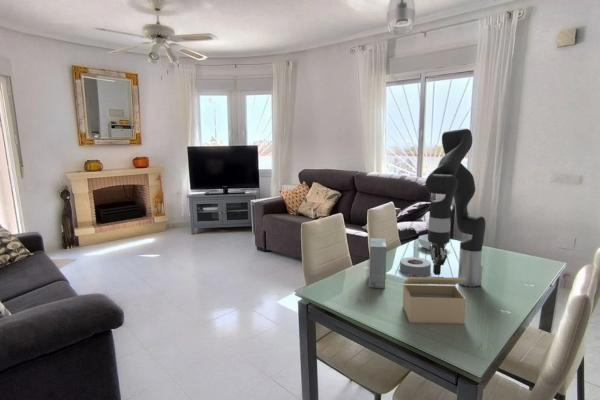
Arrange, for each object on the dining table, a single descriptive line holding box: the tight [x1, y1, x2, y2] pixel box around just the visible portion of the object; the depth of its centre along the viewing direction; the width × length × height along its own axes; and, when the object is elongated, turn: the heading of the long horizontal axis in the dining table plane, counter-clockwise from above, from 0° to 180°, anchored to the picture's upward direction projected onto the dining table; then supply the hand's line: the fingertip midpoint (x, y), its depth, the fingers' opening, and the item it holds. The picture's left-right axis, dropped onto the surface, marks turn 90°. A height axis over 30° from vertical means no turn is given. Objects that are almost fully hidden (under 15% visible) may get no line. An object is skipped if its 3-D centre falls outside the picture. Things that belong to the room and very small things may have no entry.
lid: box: [403, 276, 466, 286], centre depth 132 cm, size 20×12×1 cm
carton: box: [402, 283, 467, 325], centre depth 132 cm, size 20×12×10 cm, turn 85°
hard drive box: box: [368, 237, 387, 289], centre depth 164 cm, size 16×8×20 cm, turn 168°
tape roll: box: [399, 256, 432, 277], centre depth 179 cm, size 15×15×5 cm
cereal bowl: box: [418, 234, 448, 251], centre depth 215 cm, size 17×17×7 cm
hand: (436, 274), depth 127 cm, fingers closed
